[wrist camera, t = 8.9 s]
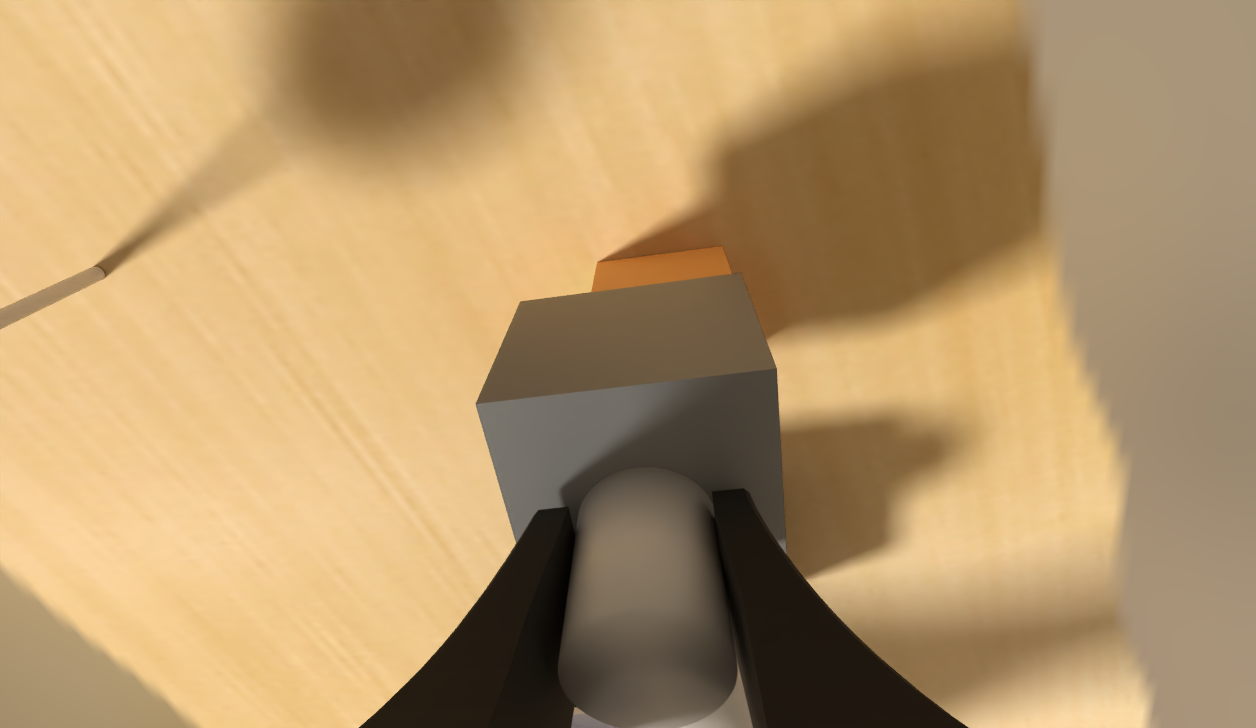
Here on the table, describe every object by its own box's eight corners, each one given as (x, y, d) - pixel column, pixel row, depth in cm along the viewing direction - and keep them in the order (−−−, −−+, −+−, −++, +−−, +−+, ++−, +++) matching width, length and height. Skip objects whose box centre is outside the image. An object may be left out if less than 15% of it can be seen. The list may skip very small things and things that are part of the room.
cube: (731, 357, 23) (747, 419, 20) (616, 370, 23) (610, 434, 20) (722, 245, 21) (737, 291, 18) (597, 261, 22) (588, 309, 18)
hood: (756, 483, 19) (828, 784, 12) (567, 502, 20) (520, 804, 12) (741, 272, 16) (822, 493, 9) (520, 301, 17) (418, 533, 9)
